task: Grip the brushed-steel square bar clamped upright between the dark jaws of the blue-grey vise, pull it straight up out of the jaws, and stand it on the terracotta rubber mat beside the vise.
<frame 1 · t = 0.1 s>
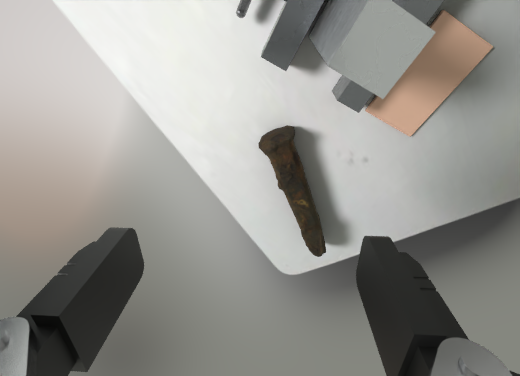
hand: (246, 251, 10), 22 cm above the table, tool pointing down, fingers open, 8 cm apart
steel bar: (354, 35, 20), in the vise
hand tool: (303, 188, 36), on the table
vise: (339, 26, 25), on the table
mat: (423, 80, 27), on the table
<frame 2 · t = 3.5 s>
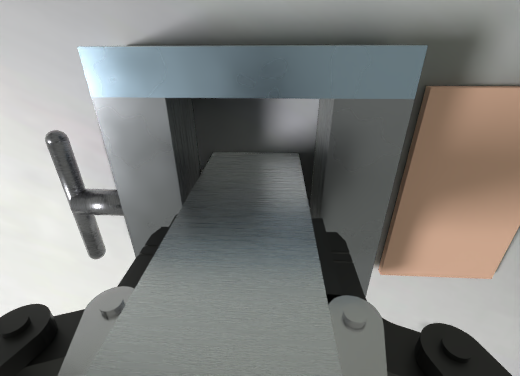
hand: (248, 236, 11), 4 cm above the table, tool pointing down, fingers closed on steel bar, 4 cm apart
steel bar: (243, 280, 9), in the vise, touching gripper
vise: (256, 190, 14), on the table
mat: (461, 194, 13), on the table
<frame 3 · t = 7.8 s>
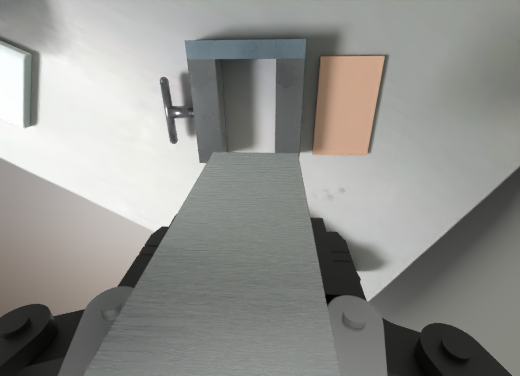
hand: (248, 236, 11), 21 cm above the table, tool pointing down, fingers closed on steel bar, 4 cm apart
steel bar: (242, 280, 9), point 24 cm above the table, touching gripper
vise: (249, 108, 30), on the table
mat: (344, 108, 29), on the table
when the fingers open (5 cm above the table, at t = 12.3 s): steel bar drops 1 cm, resting on mat.
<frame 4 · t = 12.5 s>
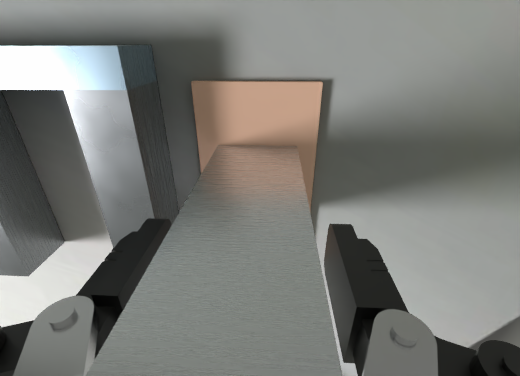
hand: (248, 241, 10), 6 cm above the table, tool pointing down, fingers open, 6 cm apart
steel bar: (247, 257, 10), on the mat
vise: (82, 173, 16), on the table
mat: (257, 177, 15), on the table
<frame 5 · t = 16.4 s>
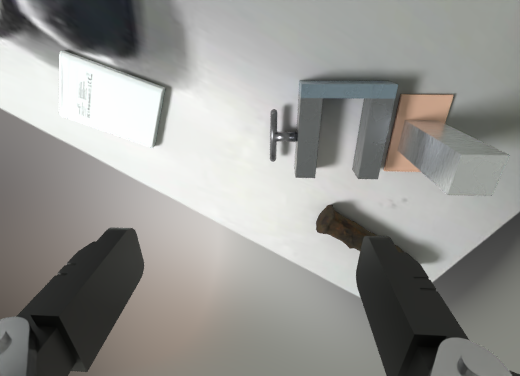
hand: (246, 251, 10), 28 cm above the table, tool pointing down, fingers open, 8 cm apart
steel bar: (441, 152, 30), on the mat
external hard drive: (115, 100, 36), on the table
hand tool: (370, 234, 44), on the table
vise: (336, 133, 36), on the table
mat: (415, 134, 36), on the table
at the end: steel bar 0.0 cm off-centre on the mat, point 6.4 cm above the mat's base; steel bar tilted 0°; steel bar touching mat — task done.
